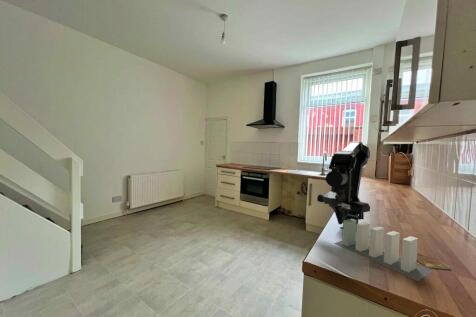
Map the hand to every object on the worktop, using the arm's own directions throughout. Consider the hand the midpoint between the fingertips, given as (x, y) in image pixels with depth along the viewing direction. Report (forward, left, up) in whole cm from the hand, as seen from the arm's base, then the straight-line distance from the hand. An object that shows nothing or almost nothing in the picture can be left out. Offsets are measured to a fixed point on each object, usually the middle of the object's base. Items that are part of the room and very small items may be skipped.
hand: (340, 224), depth 79 cm
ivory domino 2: (0, +13, -6) cm, 14 cm away
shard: (-10, +22, -7) cm, 25 cm away
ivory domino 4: (0, +22, -6) cm, 23 cm away
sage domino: (0, +4, -6) cm, 7 cm away
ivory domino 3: (0, +18, -6) cm, 19 cm away
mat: (0, +14, -6) cm, 15 cm away
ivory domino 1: (0, +9, -6) cm, 11 cm away
